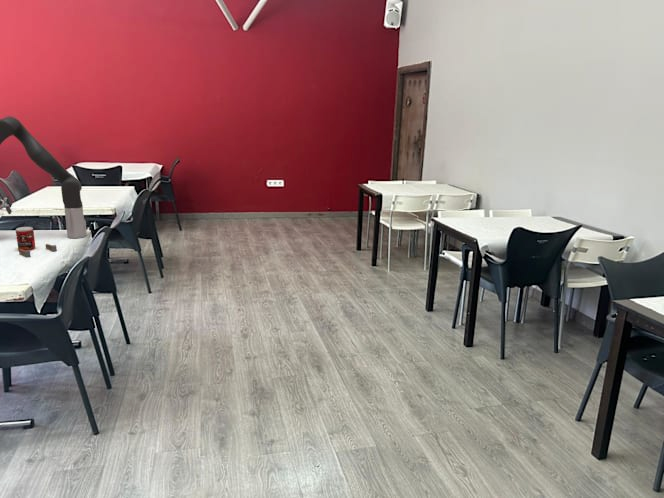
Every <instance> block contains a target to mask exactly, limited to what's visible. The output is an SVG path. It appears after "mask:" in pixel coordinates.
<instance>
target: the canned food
mask: <svg viewBox="0 0 664 498" xmlns="http://www.w3.org/2000/svg"><path fill="white" fill-rule="evenodd" d="M15 235H16V236H15V237H16V242H17V243H16V244H17V249H18V251H19V250H20V249H22V250H25V251H27V250H29V251H33V250H35V248H36V242H35V241H36V240H35V233H34V228H33V227H32V226H20V227H17V228H16V229H15Z"/></svg>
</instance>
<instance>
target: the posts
mask: <svg viewBox="0 0 664 498" xmlns="http://www.w3.org/2000/svg"><path fill="white" fill-rule="evenodd" d="M51 245H52V244H51ZM51 249H52V251H51V252H57V251H58V249H57V245H56V244H53V245H52V246H51ZM24 257H25V258H30V257H31V250H27V251H25V256H24Z"/></svg>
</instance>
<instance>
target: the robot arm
mask: <svg viewBox="0 0 664 498" xmlns="http://www.w3.org/2000/svg"><path fill="white" fill-rule="evenodd" d="M12 136H14V137H15V138H16V139H17V140H18V141H19V142H20V143H21V145H22V146H23V147H24V150H25V152H26V154H27V156H28V158H29V159H30V160H31V161H32V162H33V163H35V165H36V166H38V168H40V169H41V170H43V171H45V172H46V173H48V174H49V175H50V176H52V177H53V178H54V179H56V180H57V181H58V182H59V183H60V186H61V187H60V189H61V197H62V198H61V199H62V203H63V207H64V208H63V209H64V216H65V226H66V227H65V228H66V236H67V238H69V239H81V238H85V237H87V236H88V233H87V232H88V231H87V222H86V219H85V218H84V217H85V216H84V205H83V201H82V198H81V191H82V188H83V187H82V183H81V181H80V180H79V179H78V178H77V177H75V176H74V175H73V174H72V173H70V171H68V170H67V169H65V167H64V166H63V165H62V164H61V163H60V162H59V161H58V159H56V157H54V156H53V155H52V154H51V153H50V152H49V151H48V150H47V148H45V147H44V146H43V145H42V144H41V142H40V141H38V140H37V139H36V138H35V137H34V136H33V135H32V134H31V133H30V132H29V131H28V130H27V128H26V127H25V126H24V125H23V124H22V123H21V121H20V120H19V119H18V118H16V117H14V116H10V115H9V116H5V117H3V118H0V146H1V145H2V143H3V142H4V141H5V140H7V139H8V138H10V137H12ZM12 206H13V203H12V200H11V198H10V197H9V196H8V195H7V196H4V197H3V196H2V195H1V193H0V207H2V208H4V209H5V211H6V212H7V214H8V215H11V214H12V212H13V211H12V209H11V207H12Z"/></svg>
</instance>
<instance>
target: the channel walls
mask: <svg viewBox="0 0 664 498" xmlns="http://www.w3.org/2000/svg"><path fill="white" fill-rule="evenodd" d="M51 246H52V244H49V243H46V244H45V250H48V251H51V252H53V251H52V249H51ZM18 253H19V255H20V256H22V257H25V250H22V249H20V250H19V249H18Z"/></svg>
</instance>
